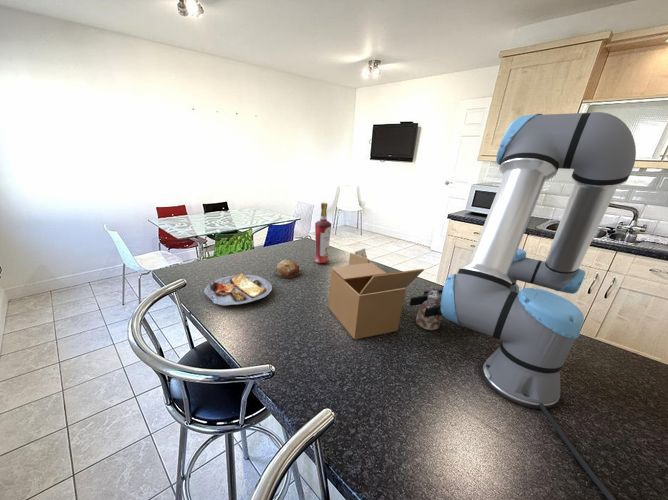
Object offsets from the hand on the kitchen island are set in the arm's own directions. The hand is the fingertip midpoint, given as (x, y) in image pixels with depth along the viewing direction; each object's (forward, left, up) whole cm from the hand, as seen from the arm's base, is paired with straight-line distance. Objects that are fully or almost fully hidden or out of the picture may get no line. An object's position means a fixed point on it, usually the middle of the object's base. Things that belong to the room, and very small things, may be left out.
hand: (418, 307), depth 90 cm
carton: (+9, +14, -7) cm, 18 cm away
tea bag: (+44, -4, -7) cm, 45 cm away
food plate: (+39, +50, -7) cm, 63 cm away
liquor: (+58, +8, -7) cm, 59 cm away
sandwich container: (+29, 0, -7) cm, 30 cm away
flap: (-3, +14, +12) cm, 19 cm away
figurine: (0, -5, -7) cm, 9 cm away
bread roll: (+50, +27, -7) cm, 57 cm away
